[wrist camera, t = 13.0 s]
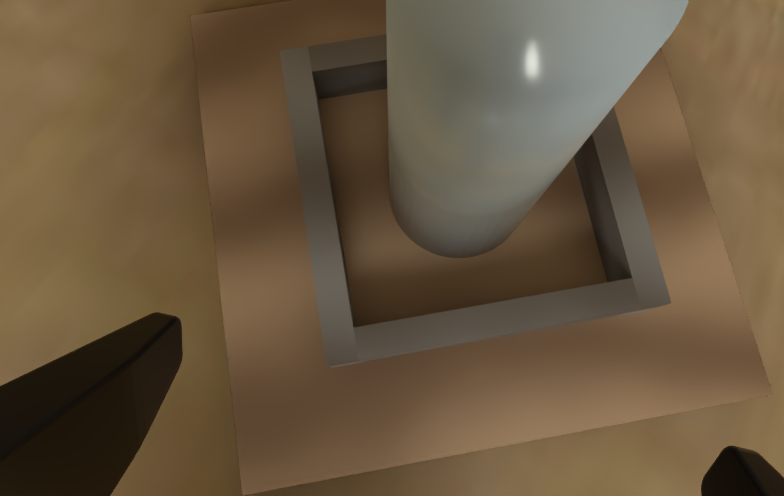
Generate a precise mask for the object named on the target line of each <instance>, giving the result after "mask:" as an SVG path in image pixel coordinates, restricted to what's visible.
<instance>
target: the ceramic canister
mask: <svg viewBox="0 0 784 496" xmlns="http://www.w3.org/2000/svg"><path fill="white" fill-rule="evenodd" d="M688 2H689V0H386V35H387V98H388V160H389V199H390V205H391V209H392V212H393V215H394V217H395V219H396V221H397V223H398V225H399V226H400V228H401V229H402V231H403V232H404V233H405V234H406V235H407V236H408V237H409V238H410V239H411V240H412V241H413V242H414V243H415V244H417V245H418V246H420V247H421V248H423V249H425V250H427V251H429V252H431V253H434V254H437V255H440V256H444V257H449V258H469V257H474V256H478V255H481V254H484V253H487V252H489V251H491V250H493V249H494V248H496V247H497V246H499V245H500V244H502V243H503V242H504V241H505V240H506V239H507V238H508V237H509V236H510V235H511V234H512V233H513V231H514V230H515V229H516V228H517V226H518V225H519V224H520V223H521V221H522V220H523V219H524V218H525V216H526V215H527V214H528V213H529V211H530V210H531V209H532V208H533V206H534V205H535V204H536V203H537V201H538V200H539V199H540V198H541V196H542V195H543V194H544V193H545V191H546V190H547V189H548V188H549V186H550V185H551V184H552V183H553V181H554V180H555V179H556V178H557V176H558V175H559V174H560V173H561V171H562V170H563V169H564V168H565V166H566V165H567V164H568V163H569V161H570V160H571V159H572V158H573V156H574V155H575V154H576V153H577V151H578V150H579V149H580V148H581V146H582V145H583V144H584V143H585V141H586V140H587V139H588V138H589V136H590V135H591V134H592V133H593V131H594V130H595V129H596V128H597V126H598V125H599V124H600V123H601V121H602V120H603V119H604V118H605V116H606V115H607V114H608V113H609V111H610V110H611V109H612V108H613V106H614V105H615V104H616V103H617V101H618V100H619V99H620V98H621V96H622V95H623V94H624V93H625V91H626V90H627V89H628V88H629V86H630V85H631V84H632V82H633V81H634V80H635V79H636V77H637V76H638V75H639V74H640V72H641V71H642V70H643V69H644V67H645V66H646V65H647V64H648V62H649V61H650V60H651V59H652V57H653V56H654V55H655V54H656V52H657V51H658V50H659V49H660V47H661V46H662V45H663V44H664V42H665V41H666V40H667V39H668V37H669V36H670V35H671V34H672V32H673V31H674V29H675V28H676V26H677V24H678V23H679V21H680V20H681V18H682V16H683V14H684V11H685V9H686V7H687V4H688Z"/></svg>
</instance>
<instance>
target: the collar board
mask: <svg viewBox="0 0 784 496" xmlns="http://www.w3.org/2000/svg"><path fill="white" fill-rule="evenodd" d="M190 22H191V31H192V40H193V49H194V58H195V67H196V77H197V86H198V95H199V104H200V113H201V122H202V131H203V141H204V150H205V159H206V168H207V177H208V186H209V195H210V204H211V214H212V223H213V232H214V241H215V250H216V259H217V268H218V277H219V287H220V296H221V305H222V314H223V323H224V332H225V341H226V350H227V360H228V369H229V378H230V387H231V396H232V405H233V414H234V423H235V433H236V442H237V451H238V460H239V469H240V478H241V487H242V496H243V495H248V494H254V493H259V492H264V491H269V490H275V489H280V488H285V487H290V486H296V485H301V484H306V483H311V482H317V481H322V480H327V479H333V478H338V477H343V476H348V475H354V474H359V473H364V472H369V471H375V470H380V469H385V468H390V467H396V466H401V465H406V464H411V463H417V462H422V461H427V460H432V459H438V458H443V457H448V456H453V455H459V454H464V453H469V452H474V451H480V450H485V449H490V448H496V447H501V446H506V445H511V444H517V443H522V442H527V441H532V440H538V439H543V438H548V437H553V436H559V435H564V434H569V433H574V432H580V431H585V430H590V429H595V428H601V427H606V426H611V425H616V424H622V423H627V422H632V421H637V420H643V419H648V418H653V417H658V416H664V415H669V414H674V413H680V412H685V411H690V410H695V409H701V408H706V407H711V406H716V405H722V404H727V403H732V402H737V401H743V400H748V399H753V398H758V397H764V396H769V395H773V394H772V391H771V388H770V384H769V381H768V378H767V375H766V372H765V369H764V366H763V363H762V360H761V357H760V353H759V350H758V347H757V344H756V341H755V338H754V335H753V332H752V329H751V326H750V323H749V319H748V316H747V313H746V310H745V307H744V304H743V301H742V298H741V295H740V292H739V289H738V285H737V282H736V279H735V276H734V273H733V270H732V267H731V264H730V261H729V258H728V255H727V251H726V248H725V245H724V242H723V239H722V236H721V233H720V230H719V227H718V224H717V221H716V217H715V214H714V211H713V208H712V205H711V202H710V199H709V196H708V193H707V190H706V187H705V183H704V180H703V177H702V174H701V171H700V168H699V165H698V162H697V159H696V156H695V153H694V149H693V146H692V143H691V140H690V137H689V134H688V131H687V128H686V125H685V122H684V119H683V115H682V112H681V109H680V106H679V103H678V100H677V97H676V94H675V91H674V88H673V85H672V81H671V78H670V75H669V72H668V69H667V66H666V63H665V60H664V57H663V54H662V51H661V47H660V49H659V50H658V51H657V52H656V54H655V55H654V56H653V57H652V59H651V60H650V61H649V62H648V64H647V65H646V66H645V67H644V69H643V70H642V71H641V72H640V74H639V75H638V76H637V77H636V79H635V80H634V81H633V82H632V84H631V85H630V86H629V88H628V89H627V90H626V91H625V93H624V94H623V95H622V96H621V98H620V99H619V100H618V101H617V103H616V104H615V105H614V106H613V108H612V109H611V110H610V111H609V113H608V114H607V115H606V116H605V118H604V119H603V120H602V121H601V123H600V124H599V125H598V126H597V128H596V129H595V130H594V131H593V133H592V134H591V135H590V136H589V138H588V139H587V140H586V141H585V143H584V144H583V145H582V146H581V148H580V149H579V150H578V151H577V153H576V154H575V155H574V156H573V158H572V159H571V160H570V161H569V163H568V164H567V165H566V166H565V168H564V169H563V170H562V171H561V173H560V174H559V175H558V176H557V178H556V179H555V180H554V181H553V183H552V184H551V185H550V186H549V188H548V189H547V190H546V191H545V193H544V194H543V195H542V196H541V198H540V199H539V200H538V201H537V203H536V204H535V205H534V206H533V208H532V209H531V210H530V211H529V213H528V214H527V215H526V216H525V218H524V219H523V220H522V221H521V223H520V224H519V225H518V226H517V228H516V229H515V230H514V231H513V233H512V234H511V235H510V236H509V237H508V238H507V239H506V240H505V241H504V242H503V243H502V244H500V245H499V246H497V247H496V248H494V249H493V250H491V251H489V252H487V253H484V254H481V255H478V256H474V257H469V258H449V257H444V256H440V255H437V254H434V253H431V252H429V251H427V250H425V249H423V248H421V247H420V246H418V245H417V244H415V243H414V242H413V241H412V240H411V239H410V238H409V237H408V236H407V235H406V234H405V233H404V232H403V231H402V229H401V228H400V226H399V225H398V223H397V221H396V219H395V217H394V215H393V212H392V209H391V205H390V199H389V160H388V98H387V35H386V0H289V1H283V2H276V3H269V4H263V5H256V6H250V7H243V8H237V9H230V10H223V11H217V12H210V13H204V14H197V15H191V16H190Z"/></svg>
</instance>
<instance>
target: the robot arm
mask: <svg viewBox="0 0 784 496" xmlns="http://www.w3.org/2000/svg"><path fill="white" fill-rule="evenodd" d="M182 354H183V351H182V327H181V321H180V319H179V318H178V317H176V316H172V315H168V314H163V313H158V312H155V313H152V314H149V315H147V316H145V317H143V318H141V319H139V320H137V321H135V322H133V323H131V324H129V325H127V326H124V327H122V328H120V329H118V330H116V331H114V332H112V333H110V334H108V335H106V336H104V337H102V338H99V339H97V340H95V341H93V342H91V343H89V344H87V345H85V346H83V347H81V348H79V349H77V350H74V351H72V352H70V353H68V354H66V355H64V356H62V357H60V358H58V359H56V360H54V361H52V362H49V363H47V364H45V365H43V366H41V367H39V368H37V369H35V370H33V371H31V372H29V373H27V374H24V375H22V376H20V377H18V378H16V379H14V380H12V381H10V382H8V383H6V384H4V385H2V386H0V496H110V495H111V493H112V492H113V490H114V489H115V487H116V486H117V484H118V482H119V481H120V479H121V478H122V476H123V474H124V473H125V471H126V470H127V468H128V467H129V465H130V463H131V462H132V460H133V458H134V457H135V455H136V453H137V452H138V450H139V448H140V447H141V445H142V443H143V441H144V439H145V437H146V435H147V433H148V431H149V429H150V427H151V425H152V423H153V421H154V419H155V417H156V414H157V412H158V410H159V408H160V406H161V404H162V402H163V400H164V398H165V396H166V394H167V392H168V390H169V388H170V386H171V384H172V382H173V380H174V378H175V376H176V373H177V371H178V369H179V367H180V364H181V361H182ZM701 494H702V496H784V477H783V476H782V475H781V474H780V473H779V472H778V471H777V470H776V469H775V468H774V467H772V466H771V465H770V464H769V463H768V462H767V461H766V460H765V459H764V458H763V457H762V456H761V455H760V454H759V453H757V452H755V451H753V450H749V449H745V448H740V447H736V446H728V447H726V448H724V449H723V450H722V452H721V453H720V455H719V456H718V457H717V459H716V460H715V462H714V463H713V464H712V466H711V467H710V469H709V470H708V472H707V473H706V474H705V476H704V478H703V481H702V485H701Z"/></svg>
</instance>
